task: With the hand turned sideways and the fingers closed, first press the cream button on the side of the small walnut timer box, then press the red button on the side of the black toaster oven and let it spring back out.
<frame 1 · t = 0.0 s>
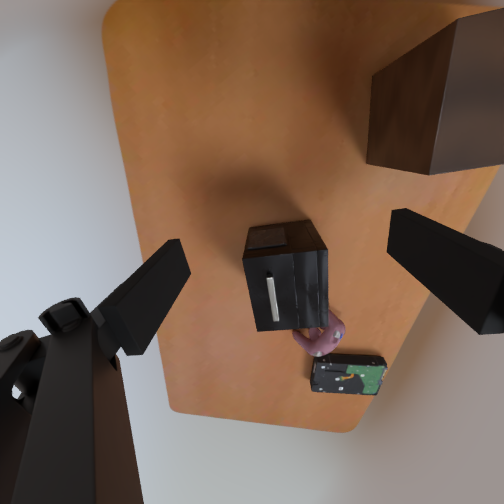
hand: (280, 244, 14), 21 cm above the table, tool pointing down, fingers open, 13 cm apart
video game controller: (315, 321, 44), on the table
toaster oven: (277, 256, 37), on the table
disk drive: (343, 367, 49), on the table
timer box: (410, 115, 27), on the table
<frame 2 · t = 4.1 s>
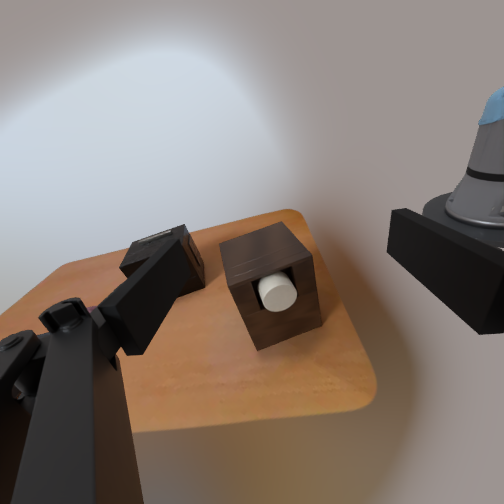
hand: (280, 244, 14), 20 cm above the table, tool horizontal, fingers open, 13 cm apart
timer button: (276, 291, 25), point 10 cm above the table, slide at 0.1 cm
toaster oven: (179, 280, 50), on the table
timer box: (278, 312, 35), on the table
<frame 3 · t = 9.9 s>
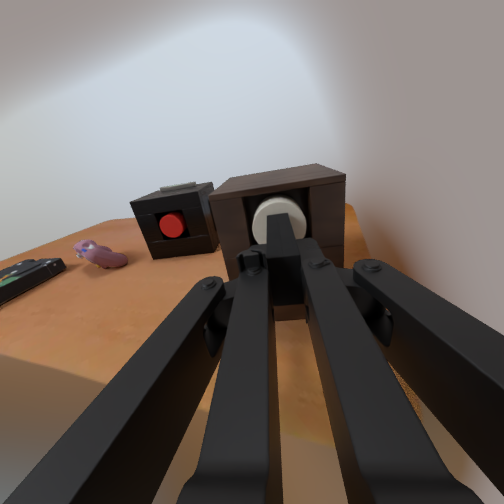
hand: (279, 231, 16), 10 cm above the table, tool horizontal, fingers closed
timer button: (278, 223, 17), point 10 cm above the table, slide at -0.5 cm, touching gripper
video game controller: (106, 266, 42), on the table
toaster oven: (193, 242, 45), on the table
disk drive: (9, 291, 38), on the table
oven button: (174, 224, 38), point 6 cm above the table, slide at 0.1 cm
timer box: (285, 289, 25), on the table
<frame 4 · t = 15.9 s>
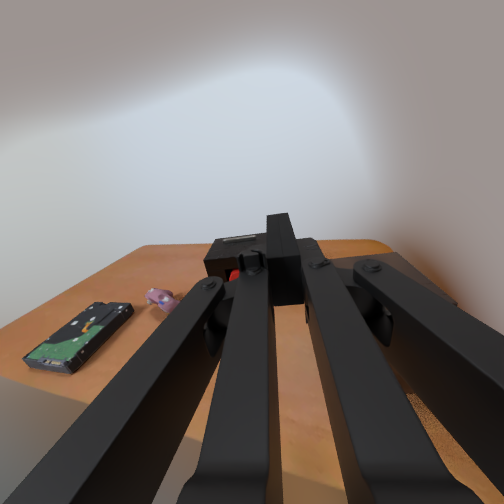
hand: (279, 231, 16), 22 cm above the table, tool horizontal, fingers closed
video game controller: (172, 311, 46), on the table
toaster oven: (248, 286, 49), on the table
disk drive: (89, 337, 42), on the table
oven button: (240, 277, 41), point 6 cm above the table, slide at 0.1 cm
timer box: (364, 356, 29), on the table
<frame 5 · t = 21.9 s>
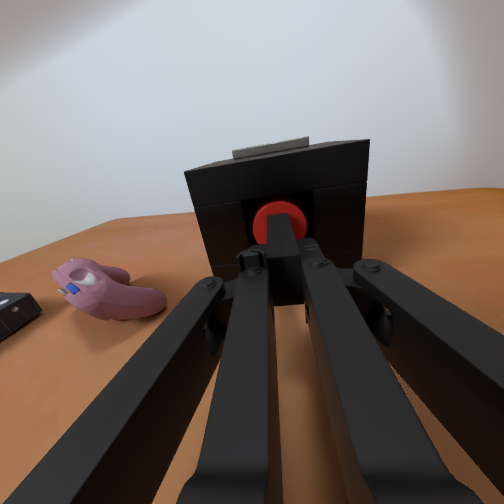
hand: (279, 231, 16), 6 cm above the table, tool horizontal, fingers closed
video game controller: (120, 310, 21), on the table
toaster oven: (282, 260, 24), on the table
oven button: (278, 223, 17), point 6 cm above the table, slide at -0.5 cm, touching gripper
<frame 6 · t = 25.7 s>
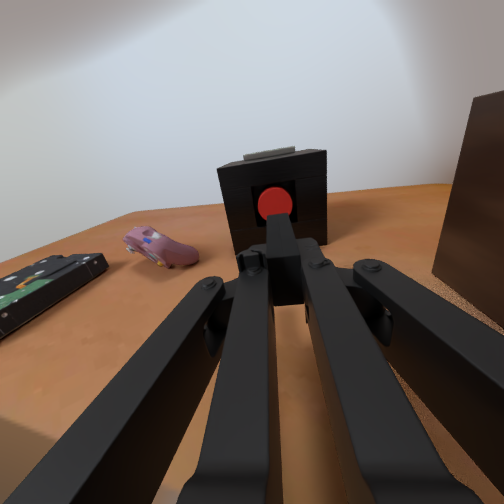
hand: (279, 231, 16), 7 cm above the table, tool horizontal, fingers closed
video game controller: (166, 264, 30), on the table
toaster oven: (278, 233, 33), on the table
disk drive: (33, 301, 26), on the table
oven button: (274, 203, 26), point 6 cm above the table, slide at 0.1 cm
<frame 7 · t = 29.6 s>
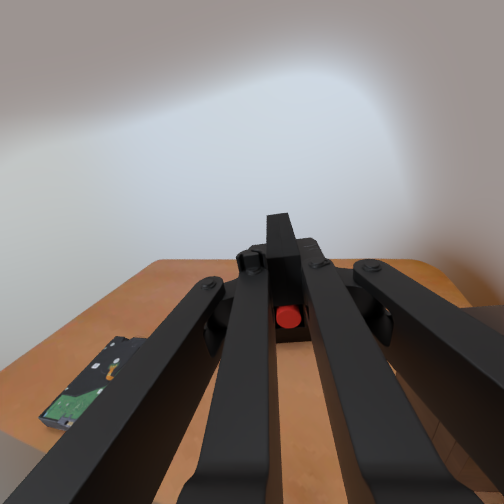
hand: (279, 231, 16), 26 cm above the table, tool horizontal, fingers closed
toaster oven: (288, 318, 43), on the table
disk drive: (113, 383, 37), on the table
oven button: (288, 313, 36), point 6 cm above the table, slide at 0.1 cm
timer box: (464, 427, 24), on the table
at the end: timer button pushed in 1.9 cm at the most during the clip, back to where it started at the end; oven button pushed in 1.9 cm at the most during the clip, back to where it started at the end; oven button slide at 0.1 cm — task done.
